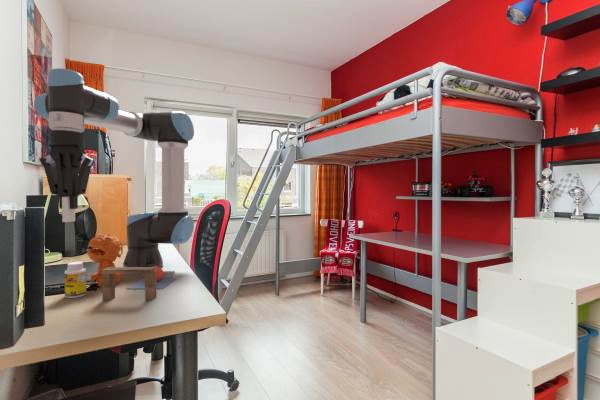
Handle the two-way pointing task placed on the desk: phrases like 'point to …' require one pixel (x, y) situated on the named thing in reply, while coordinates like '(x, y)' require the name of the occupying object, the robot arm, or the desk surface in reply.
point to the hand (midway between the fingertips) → (68, 221)
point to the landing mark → (159, 284)
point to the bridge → (110, 272)
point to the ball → (158, 273)
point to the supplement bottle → (75, 280)
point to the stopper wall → (168, 274)
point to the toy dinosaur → (104, 255)
